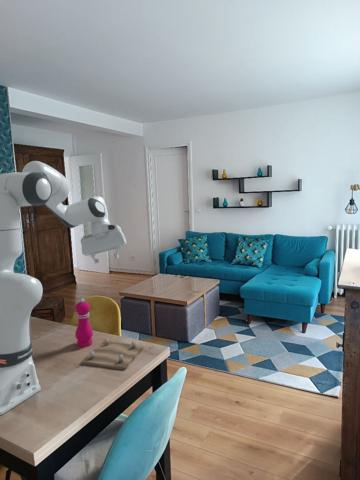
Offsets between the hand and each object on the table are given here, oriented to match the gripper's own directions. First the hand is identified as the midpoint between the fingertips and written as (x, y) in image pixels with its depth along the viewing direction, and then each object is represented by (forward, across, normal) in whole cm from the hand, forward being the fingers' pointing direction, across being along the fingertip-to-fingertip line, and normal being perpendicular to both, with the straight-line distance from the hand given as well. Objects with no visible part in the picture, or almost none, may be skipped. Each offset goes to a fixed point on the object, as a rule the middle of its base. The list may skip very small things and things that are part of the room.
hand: (106, 260), depth 153 cm
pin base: (+40, -1, -9) cm, 41 cm away
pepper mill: (+33, -16, 0) cm, 37 cm away
